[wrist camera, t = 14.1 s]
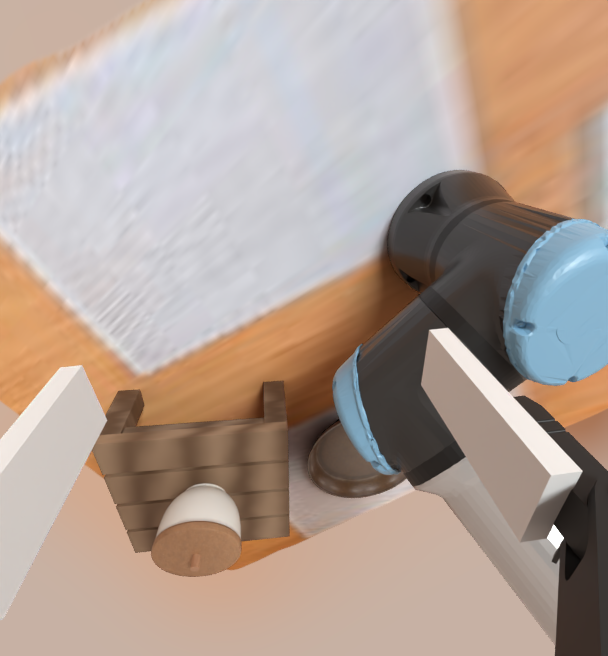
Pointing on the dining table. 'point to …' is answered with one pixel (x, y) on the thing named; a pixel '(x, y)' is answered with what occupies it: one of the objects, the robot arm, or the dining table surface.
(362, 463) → the plant saucer
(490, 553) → the robot arm
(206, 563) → the lidded jar
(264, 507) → the walnut rack
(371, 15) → the dining table surface
